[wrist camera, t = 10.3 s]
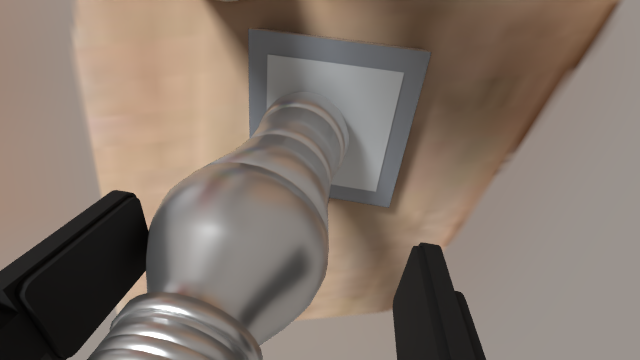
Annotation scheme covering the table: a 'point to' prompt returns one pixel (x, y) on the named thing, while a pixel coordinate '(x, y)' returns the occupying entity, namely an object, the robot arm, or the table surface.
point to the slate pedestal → (345, 99)
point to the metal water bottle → (238, 243)
